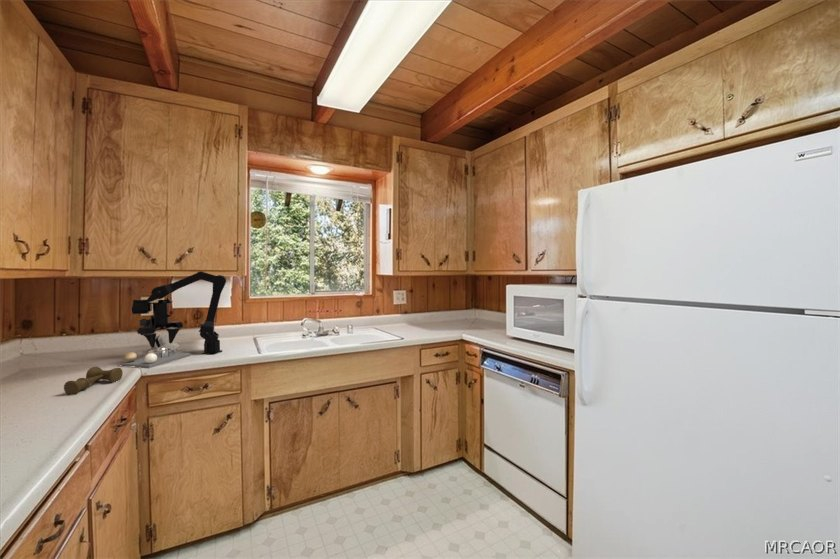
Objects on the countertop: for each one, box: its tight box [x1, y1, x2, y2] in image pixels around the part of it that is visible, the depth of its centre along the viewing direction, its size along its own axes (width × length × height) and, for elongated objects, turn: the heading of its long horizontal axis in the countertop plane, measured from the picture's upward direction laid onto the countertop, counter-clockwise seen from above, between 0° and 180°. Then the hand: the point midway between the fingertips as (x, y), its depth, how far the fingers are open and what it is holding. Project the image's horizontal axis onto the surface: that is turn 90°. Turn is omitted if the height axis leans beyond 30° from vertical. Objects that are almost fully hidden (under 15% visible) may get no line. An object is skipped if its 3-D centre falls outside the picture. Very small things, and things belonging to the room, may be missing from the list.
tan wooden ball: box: [123, 351, 138, 362], centre depth 155 cm, size 4×4×4 cm
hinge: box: [154, 332, 180, 350], centre depth 181 cm, size 17×5×10 cm, turn 21°
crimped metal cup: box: [147, 348, 177, 358], centre depth 166 cm, size 10×10×2 cm
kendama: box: [63, 366, 124, 395], centre depth 129 cm, size 6×10×20 cm
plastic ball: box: [144, 353, 157, 363], centre depth 153 cm, size 4×4×4 cm
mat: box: [118, 352, 192, 369], centre depth 161 cm, size 16×21×1 cm
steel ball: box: [156, 346, 168, 352], centre depth 166 cm, size 4×4×4 cm
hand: (161, 345), depth 166 cm, fingers open, 9 cm apart
